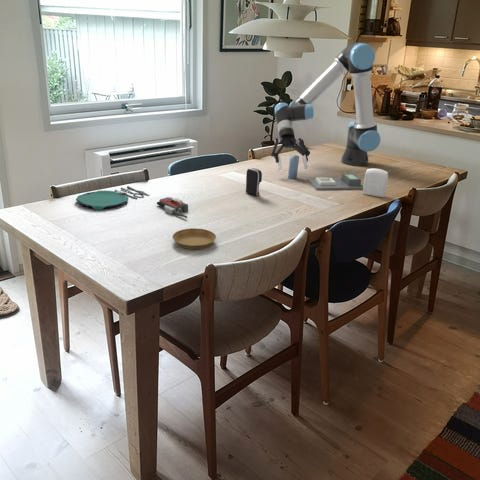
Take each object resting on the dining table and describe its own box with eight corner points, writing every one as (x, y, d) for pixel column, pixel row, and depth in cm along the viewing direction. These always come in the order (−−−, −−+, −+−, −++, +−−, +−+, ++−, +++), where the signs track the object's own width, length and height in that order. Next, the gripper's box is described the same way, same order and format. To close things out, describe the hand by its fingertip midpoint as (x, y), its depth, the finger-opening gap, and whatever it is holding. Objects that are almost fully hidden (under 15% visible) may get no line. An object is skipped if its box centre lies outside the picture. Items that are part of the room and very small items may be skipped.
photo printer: (361, 194, 229) (365, 168, 224) (363, 191, 233) (367, 166, 228) (383, 198, 225) (388, 171, 220) (385, 195, 228) (390, 169, 224)
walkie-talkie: (152, 207, 200) (184, 221, 188) (152, 196, 199) (184, 210, 186) (169, 202, 206) (201, 216, 194) (169, 192, 205) (202, 205, 192)
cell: (295, 176, 251) (297, 154, 246) (297, 179, 247) (300, 156, 242) (287, 176, 250) (289, 153, 245) (289, 179, 246) (291, 156, 241)
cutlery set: (67, 201, 201) (66, 196, 200) (126, 188, 223) (126, 183, 222) (96, 215, 190) (96, 209, 189) (156, 199, 211) (156, 194, 210)
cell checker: (351, 179, 250) (353, 172, 248) (364, 189, 236) (365, 181, 234) (306, 180, 246) (307, 172, 244) (316, 190, 231) (317, 181, 230)
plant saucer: (186, 256, 160) (186, 248, 159) (164, 240, 171) (164, 233, 170) (224, 246, 168) (224, 239, 167) (201, 232, 179) (201, 225, 178)
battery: (261, 195, 220) (263, 170, 216) (255, 196, 218) (257, 171, 213) (251, 191, 225) (252, 166, 221) (245, 192, 223) (246, 167, 218)
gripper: (306, 135, 259) (314, 171, 252) (260, 135, 253) (267, 172, 245) (311, 127, 252) (319, 163, 245) (264, 126, 246) (271, 164, 239)
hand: (293, 167), depth 245 cm, fingers open, 13 cm apart
